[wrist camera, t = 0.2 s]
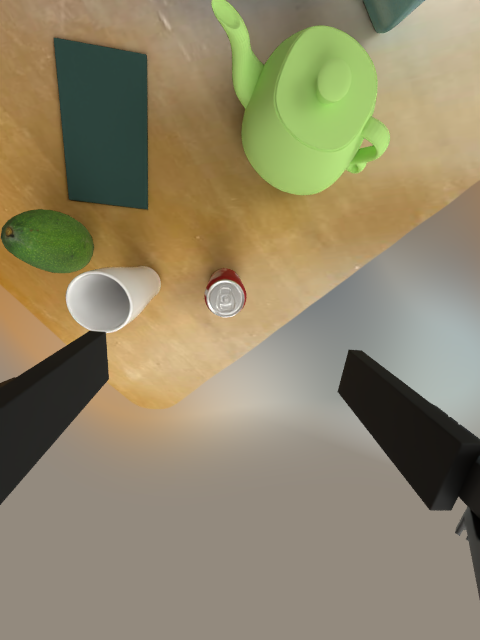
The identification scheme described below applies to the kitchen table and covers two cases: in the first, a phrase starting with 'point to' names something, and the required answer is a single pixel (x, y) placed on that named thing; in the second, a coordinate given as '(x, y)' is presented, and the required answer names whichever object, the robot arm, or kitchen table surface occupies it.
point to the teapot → (305, 105)
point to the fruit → (48, 240)
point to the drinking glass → (111, 296)
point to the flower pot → (389, 12)
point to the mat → (104, 123)
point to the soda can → (225, 293)
